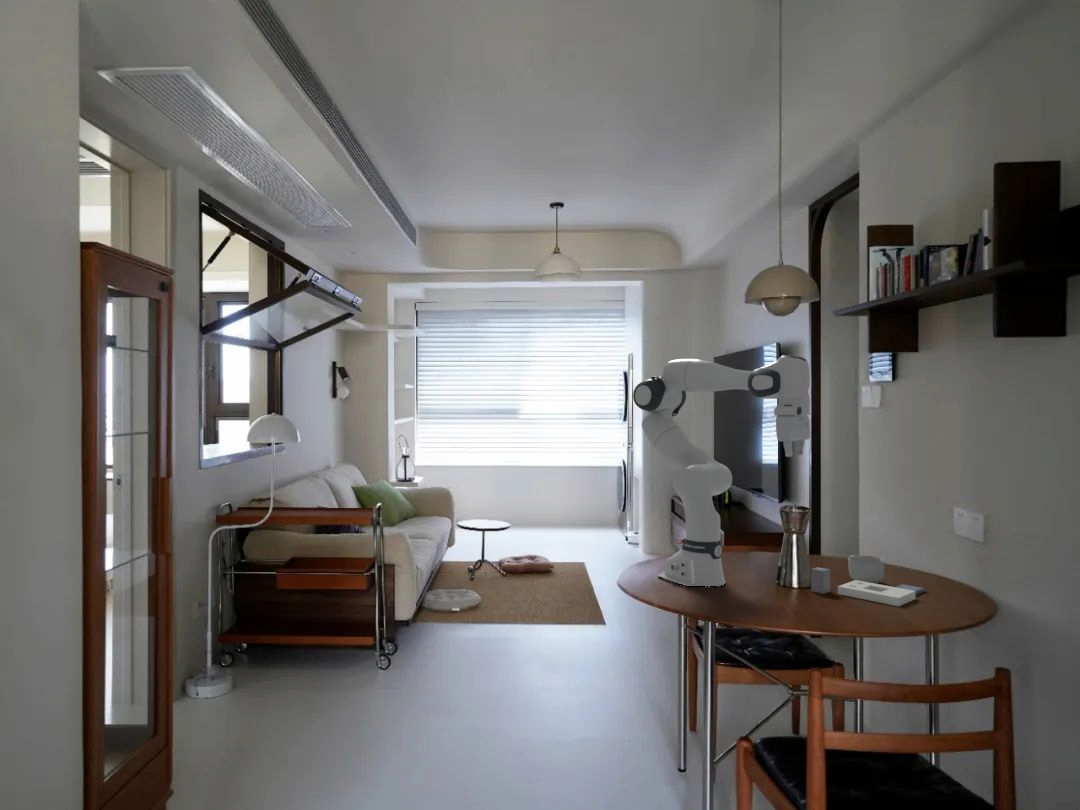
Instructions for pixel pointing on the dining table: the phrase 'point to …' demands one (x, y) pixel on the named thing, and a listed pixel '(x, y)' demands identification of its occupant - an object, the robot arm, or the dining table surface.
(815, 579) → the block
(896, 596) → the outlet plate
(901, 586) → the phone
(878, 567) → the grey rounded block
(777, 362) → the robot arm
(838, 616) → the dining table surface
